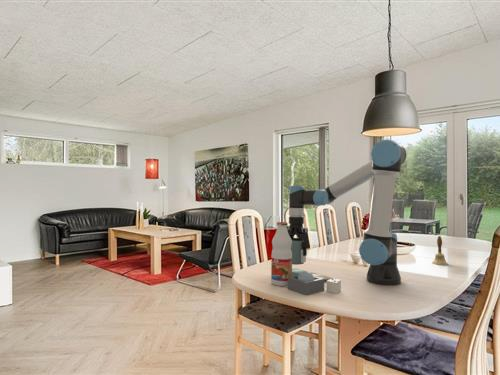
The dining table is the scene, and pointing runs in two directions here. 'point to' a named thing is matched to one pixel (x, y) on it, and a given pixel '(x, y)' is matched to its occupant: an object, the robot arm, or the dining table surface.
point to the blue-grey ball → (305, 276)
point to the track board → (298, 271)
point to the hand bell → (439, 254)
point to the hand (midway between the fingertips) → (295, 260)
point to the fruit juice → (281, 256)
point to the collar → (306, 285)
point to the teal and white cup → (296, 251)
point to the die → (333, 285)
